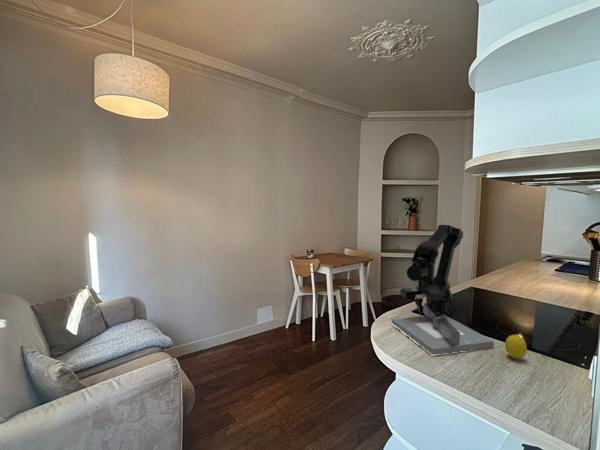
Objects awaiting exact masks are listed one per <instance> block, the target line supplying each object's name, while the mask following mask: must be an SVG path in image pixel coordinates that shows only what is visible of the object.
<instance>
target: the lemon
mask: <svg viewBox="0 0 600 450" xmlns="http://www.w3.org/2000/svg"><path fill="white" fill-rule="evenodd" d="M504 347H505V351H506V353H507V354H508V355H509V356H511V358H512V359H514V360H517V359H520V358H523V357H525V356H526V355H527V354H526V353H527V351H528V350H527V349H528V348H527V347H528V346H527V343H526V341H525V339H524V338H523V337H522V336H520V335H519V334H517V333H515V334H512V335H509V336H508V337H506V340H505V344H504Z"/></svg>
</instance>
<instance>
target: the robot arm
mask: <svg viewBox="0 0 600 450" xmlns="http://www.w3.org/2000/svg"><path fill="white" fill-rule="evenodd" d="M463 237H464V232H463V230H461V228H459V227H455V226H452V225H449V224H439V225H438V226H437V229H436V230H435V232H434V233H433V234H432V235H431V236H430V238H429V239H428V240H426V241H422V242H421V243H420V244H419V245H418V246H417V247H416V248H415V250H414V253H413V257H412V259H411V262H412V263H411V266H408V268H407V270H406V276H407V278H408V279H409V280H410V281H413V282H416V281H417V286H416V287H415V289H416V290H413V289H412V288H410V287H409V288H408V287H407V288H405V287H404V288H401V289H400V291H399V295H400V296H401V297H402V298H403V299H405V300H413V301H414V303H415V306H416V307H417V310H418V313H419V314H420V315H422V314H423V302H424V298H422V296H425V298H426V299H425V303H427V304H428V305H430V306H433V307H434V308H435V309H436V310H437V311H438V312H439V313H440V314H444V315H446V316H448V315H447V314H450V315H451V313H450V312H449V303H452V302H453V300H454V299H453V297H454V295H453V293H452V291H451V285H450V282H449V274H450V271H451V266H452V262H453V259H454V253H455V249H456V248H457V247H458V246H459V245H460V244H461V241H462V239H463ZM441 245H443V246H442V251H441V254H440V258H439V263H438V266H437V270H436V276H434V271H435V270H434V269H435V264H436V260H437V259H438V256H439V253H440V252H439V248H440V247H441Z"/></svg>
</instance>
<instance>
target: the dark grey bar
mask: <svg viewBox="0 0 600 450" xmlns="http://www.w3.org/2000/svg"><path fill="white" fill-rule="evenodd" d="M422 314H424V316H427V317H428V319H429V320H430V321H431V322H432V323H433V325H432V326H433V327H434V328H437V329H438V330H439V331H440V332H441V333H442V334H443V335H444V337H445V338H446V339H447V340H448V341H449V342H450V343H451V344H452V345H459V341H460V332H458V331H457V330H456V329H455V328H454V327H453V326H452V325H451V324H450V323H449V322H448V321H447V320H446V316H447V315H446V316H444V315H441V314H440V313H439V312H438V311H437V310H436V309H435V308H434V307H433V306H430V305H428V304H427V303H426V302H424V303H423V307H422Z"/></svg>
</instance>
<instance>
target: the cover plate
mask: <svg viewBox="0 0 600 450" xmlns="http://www.w3.org/2000/svg"><path fill="white" fill-rule="evenodd" d="M441 315H444V314H441ZM444 316H446V320H447V321H448V322H449V323H450V324H451V325H452V326H453V327H454V328H455V329H456V330H457V331H458V332H460V341H459V345H452V344H451V343H450V342H449V341H448V340H447V339H446V338H445V337H444V335H443V334H442V333H441V332H440V331H439V330H438V329H437V328H434V327H433V326H432V325H433V323H432V322H431V321H430V320H429V319H428V317H427V316H426V315H422V316H412V317H403V318H401V317H400V318H392V319H391V324H392V323H393V324H394V325H396V326H397V327H399V328H400V329H401V330H402V331H404V332H405V333H406V334H407V335H409V336H410V337H411V338H412V339H414V340H415V341H416V342H418V343H419V344H420V345H421V346H423V347H424V348H425V349H426V350H428V351H429V352H430V353H432V354H443V353H452V352H460V351H470V350H477V351H482V350H481V349H484V350H492V349H494V340H492V339H490V338H488V337H487V336H484V335H483V334H481V333H479V332H478V331H476V330H474V329H472V328H470V327H468V326H466V325H464V324H462V323H460V322H459V321H457V320H455V319H453V318H452V317H449V316H448V315H444ZM470 352H471V351H470Z"/></svg>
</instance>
